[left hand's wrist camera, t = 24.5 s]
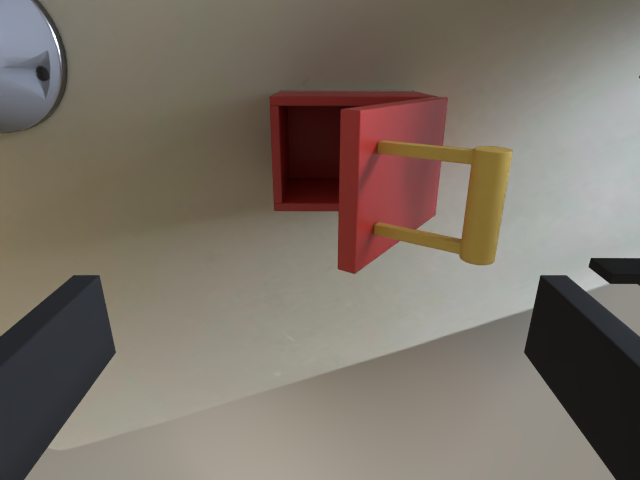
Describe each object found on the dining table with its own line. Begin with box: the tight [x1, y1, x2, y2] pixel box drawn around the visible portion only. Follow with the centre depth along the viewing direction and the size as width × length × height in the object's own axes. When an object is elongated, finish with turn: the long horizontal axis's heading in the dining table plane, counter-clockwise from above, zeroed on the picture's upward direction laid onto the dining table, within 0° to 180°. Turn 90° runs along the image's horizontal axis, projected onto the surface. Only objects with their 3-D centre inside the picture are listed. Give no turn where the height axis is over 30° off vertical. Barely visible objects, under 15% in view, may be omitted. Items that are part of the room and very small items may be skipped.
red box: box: [270, 90, 437, 211], centre depth 41 cm, size 14×10×10 cm
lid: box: [338, 97, 513, 274], centre depth 28 cm, size 14×10×9 cm
